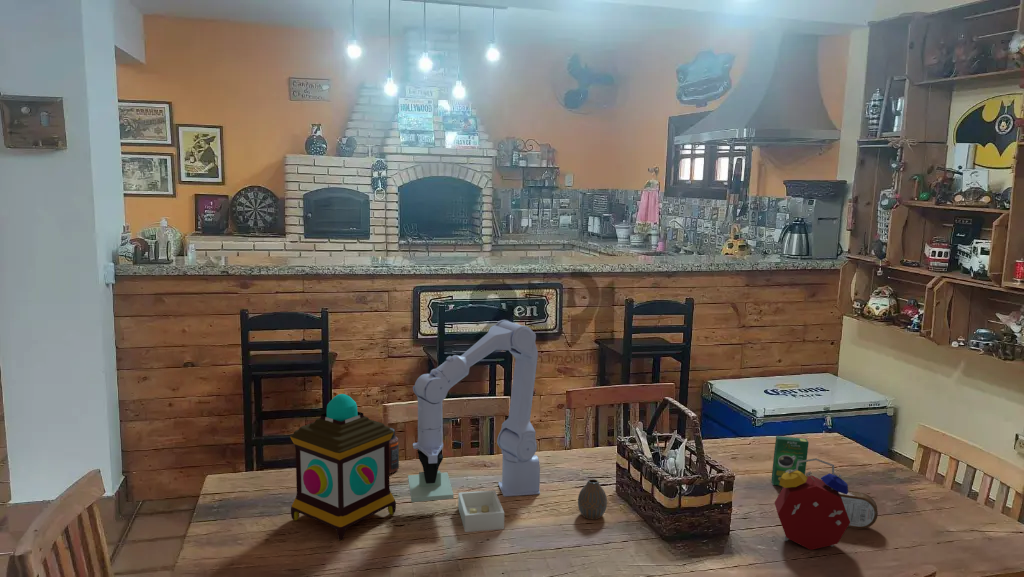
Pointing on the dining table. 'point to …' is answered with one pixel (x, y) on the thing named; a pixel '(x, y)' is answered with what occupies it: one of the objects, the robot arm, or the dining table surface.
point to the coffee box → (788, 456)
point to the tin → (859, 509)
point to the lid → (430, 488)
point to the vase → (592, 500)
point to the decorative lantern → (342, 467)
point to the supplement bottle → (393, 453)
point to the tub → (480, 511)
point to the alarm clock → (812, 508)
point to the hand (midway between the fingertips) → (430, 480)
